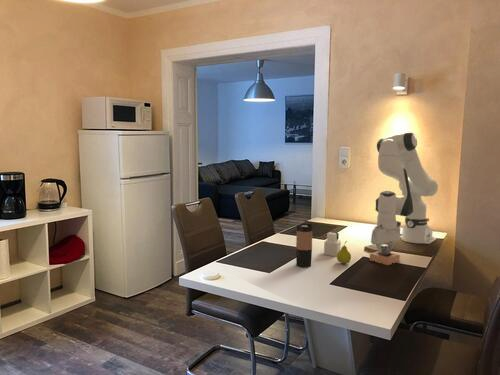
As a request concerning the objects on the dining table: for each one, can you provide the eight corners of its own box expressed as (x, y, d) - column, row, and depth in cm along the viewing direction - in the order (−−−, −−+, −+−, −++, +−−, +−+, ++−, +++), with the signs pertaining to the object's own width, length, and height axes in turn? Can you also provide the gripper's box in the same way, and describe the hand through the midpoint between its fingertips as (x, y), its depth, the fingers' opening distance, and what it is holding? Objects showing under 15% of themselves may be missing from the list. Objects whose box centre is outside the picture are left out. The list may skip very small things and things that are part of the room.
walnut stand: (372, 247, 229) (372, 244, 229) (385, 251, 223) (385, 247, 223) (364, 250, 224) (364, 246, 224) (376, 253, 218) (376, 249, 218)
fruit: (333, 262, 203) (334, 238, 201) (345, 260, 205) (346, 237, 204) (341, 266, 197) (342, 242, 195) (353, 264, 199) (354, 241, 197)
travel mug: (311, 268, 193) (312, 227, 191) (295, 267, 195) (296, 226, 192) (311, 263, 201) (312, 223, 198) (296, 262, 202) (297, 223, 199)
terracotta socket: (381, 256, 213) (381, 250, 212) (399, 261, 205) (399, 254, 204) (369, 260, 206) (369, 253, 206) (387, 265, 198) (388, 258, 198)
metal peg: (383, 259, 208) (383, 244, 207) (389, 261, 205) (390, 245, 204) (378, 260, 206) (379, 245, 205) (385, 262, 203) (386, 247, 202)
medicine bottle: (327, 251, 221) (328, 230, 220) (340, 253, 218) (341, 231, 217) (323, 254, 215) (324, 232, 214) (337, 256, 212) (337, 234, 210)
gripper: (379, 227, 194) (378, 255, 196) (403, 222, 207) (401, 248, 209) (368, 225, 199) (367, 252, 201) (391, 220, 212) (390, 245, 214)
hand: (384, 250), depth 205 cm, fingers open, 8 cm apart
